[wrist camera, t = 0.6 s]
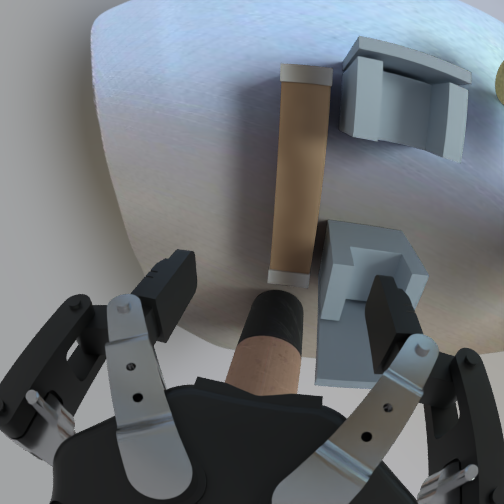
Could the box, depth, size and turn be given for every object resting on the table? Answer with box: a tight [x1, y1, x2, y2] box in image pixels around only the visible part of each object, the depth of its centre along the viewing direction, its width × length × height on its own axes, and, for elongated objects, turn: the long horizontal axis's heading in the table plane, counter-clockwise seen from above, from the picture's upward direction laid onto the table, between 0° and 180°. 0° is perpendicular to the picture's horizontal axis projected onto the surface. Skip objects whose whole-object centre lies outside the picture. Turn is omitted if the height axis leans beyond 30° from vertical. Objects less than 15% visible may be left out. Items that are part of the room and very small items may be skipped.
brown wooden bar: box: [268, 64, 333, 288], centre depth 25 cm, size 4×21×6 cm, turn 178°
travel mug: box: [225, 290, 303, 396], centre depth 28 cm, size 8×8×20 cm
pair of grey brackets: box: [315, 36, 471, 389], centre depth 19 cm, size 9×25×16 cm, turn 178°
